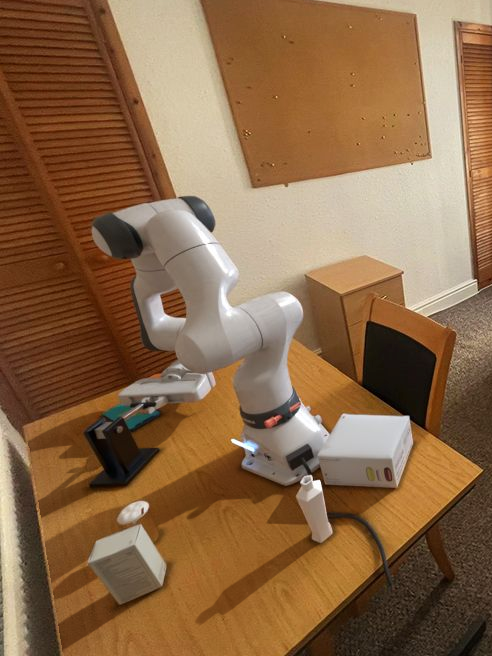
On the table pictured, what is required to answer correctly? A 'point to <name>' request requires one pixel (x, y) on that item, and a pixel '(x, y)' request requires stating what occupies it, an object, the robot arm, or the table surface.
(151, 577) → the cosmetic box
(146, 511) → the milkshake
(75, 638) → the table surface
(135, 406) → the lever
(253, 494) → the table surface
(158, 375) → the button
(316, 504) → the perfume bottle
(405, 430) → the supplement box
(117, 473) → the bracket
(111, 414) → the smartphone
